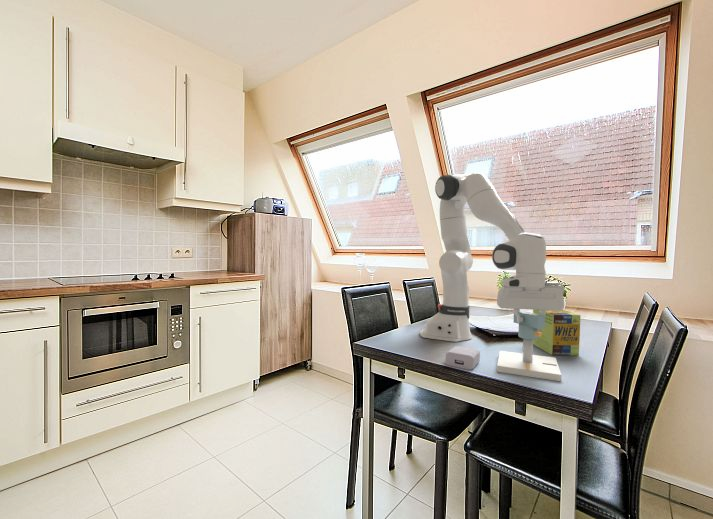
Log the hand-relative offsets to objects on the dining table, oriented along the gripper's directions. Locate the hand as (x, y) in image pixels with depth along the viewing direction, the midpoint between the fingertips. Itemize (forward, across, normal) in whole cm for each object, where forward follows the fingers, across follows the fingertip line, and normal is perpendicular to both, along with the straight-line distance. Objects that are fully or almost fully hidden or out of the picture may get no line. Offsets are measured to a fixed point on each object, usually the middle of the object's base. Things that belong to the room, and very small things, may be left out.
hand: (529, 322), depth 115 cm
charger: (+16, +20, -3) cm, 26 cm away
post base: (+15, 0, 0) cm, 15 cm away
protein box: (+15, -17, -25) cm, 34 cm away
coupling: (+5, 0, 0) cm, 5 cm away
